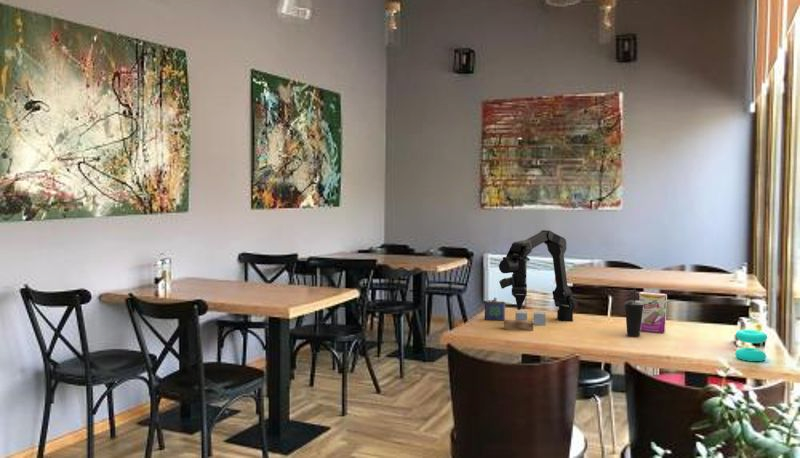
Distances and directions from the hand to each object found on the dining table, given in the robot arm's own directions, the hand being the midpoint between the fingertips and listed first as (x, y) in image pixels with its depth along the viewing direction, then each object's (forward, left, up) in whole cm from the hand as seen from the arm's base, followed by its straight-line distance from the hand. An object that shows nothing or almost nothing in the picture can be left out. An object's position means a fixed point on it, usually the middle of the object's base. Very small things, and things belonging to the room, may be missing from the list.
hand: (519, 307), depth 293 cm
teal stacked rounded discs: (-83, +32, -10) cm, 89 cm away
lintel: (0, 0, -10) cm, 10 cm away
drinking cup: (-47, +1, -10) cm, 48 cm away
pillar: (-9, -13, -9) cm, 18 cm away
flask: (+11, -18, -10) cm, 23 cm away
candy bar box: (-56, -10, -10) cm, 58 cm away
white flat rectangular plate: (-5, -13, -10) cm, 17 cm away
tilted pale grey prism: (-1, -13, -9) cm, 16 cm away
